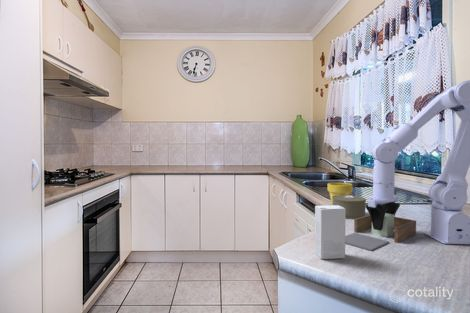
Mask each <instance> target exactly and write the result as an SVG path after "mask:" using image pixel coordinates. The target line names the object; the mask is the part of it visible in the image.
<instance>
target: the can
mask: <svg viewBox="0 0 470 313" xmlns="http://www.w3.org/2000/svg"><path fill="white" fill-rule="evenodd" d="M332 200H333V205H338V206H341V207H343V208H345V209H346V212H345V220H354V219H356V218H360V217H363V216H366V202H367V199H366V198H365V197H362V196H356V195H351V194H350V195H337V196H333V197H332Z"/></svg>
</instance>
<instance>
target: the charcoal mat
mask: <svg viewBox="0 0 470 313" xmlns="http://www.w3.org/2000/svg"><path fill="white" fill-rule="evenodd" d="M389 243H390V241H388V240H385V239H380V238H378V237H377V238H376V237H373V236H369V235H365V234H360V233H359V232H353V233H350V234H347V235H345V245H349V246H351V247H356V248H359V249H362V250H367V251H369V252H372V251H375V250H376V249H379V248H381V247H383V246H385V245H387V244H389Z"/></svg>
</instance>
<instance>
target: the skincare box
mask: <svg viewBox="0 0 470 313" xmlns="http://www.w3.org/2000/svg"><path fill="white" fill-rule="evenodd" d="M345 212H346V209H345V208H343V207H341V206H338V205H332V204H331V205H330V204H329V205H314V215H315V216H314V244H315V245H314V253H315V255H316V256H317V257H318V258H320V260H334V259H335V260H336V259H337V260H338V259H345V258H346V244H345V236H346V219H345Z"/></svg>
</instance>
